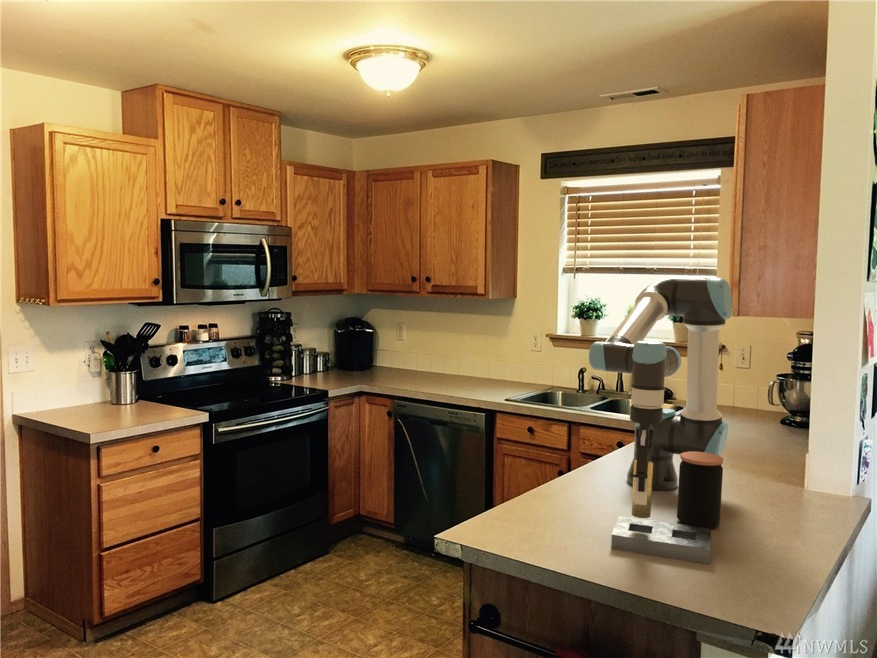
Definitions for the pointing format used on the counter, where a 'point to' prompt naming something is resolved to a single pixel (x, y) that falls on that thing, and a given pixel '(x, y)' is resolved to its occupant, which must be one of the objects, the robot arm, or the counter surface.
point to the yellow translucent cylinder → (645, 510)
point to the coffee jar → (700, 489)
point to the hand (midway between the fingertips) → (641, 500)
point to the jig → (662, 539)
